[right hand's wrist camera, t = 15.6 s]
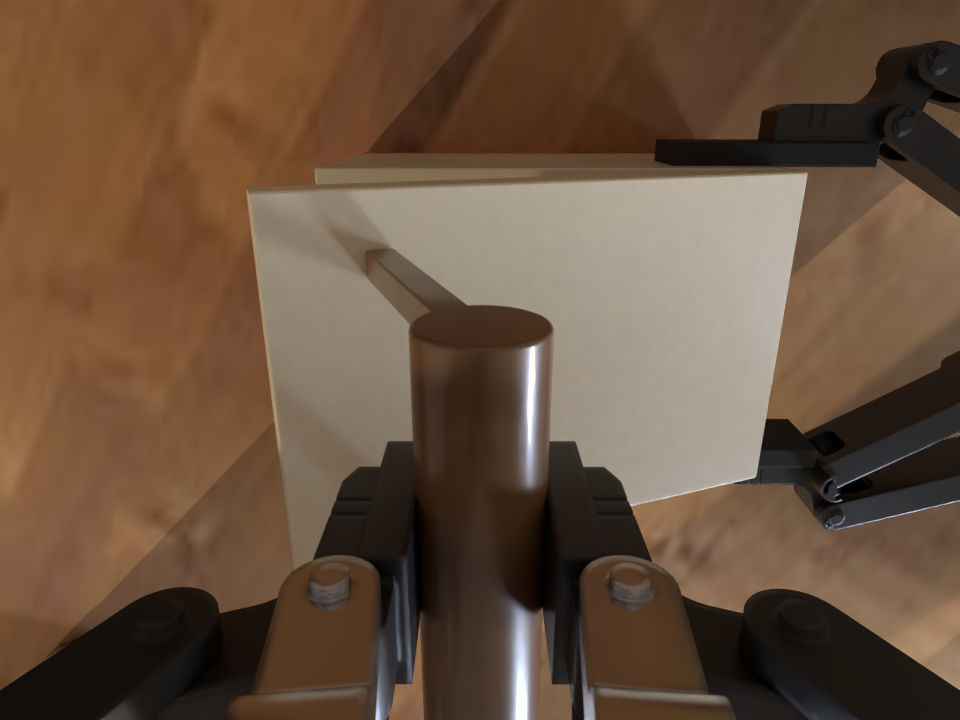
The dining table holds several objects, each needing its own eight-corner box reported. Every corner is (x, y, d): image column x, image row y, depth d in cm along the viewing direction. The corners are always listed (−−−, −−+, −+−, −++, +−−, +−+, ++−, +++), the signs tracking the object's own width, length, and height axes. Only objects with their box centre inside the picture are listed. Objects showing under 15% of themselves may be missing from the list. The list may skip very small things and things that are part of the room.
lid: (291, 559, 19) (344, 885, 11) (245, 186, 15) (275, 263, 7) (735, 463, 24) (990, 635, 16) (781, 168, 20) (1141, 201, 12)
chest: (378, 372, 32) (338, 458, 24) (365, 152, 29) (313, 167, 21) (678, 374, 32) (740, 462, 24) (703, 153, 28) (787, 167, 20)
